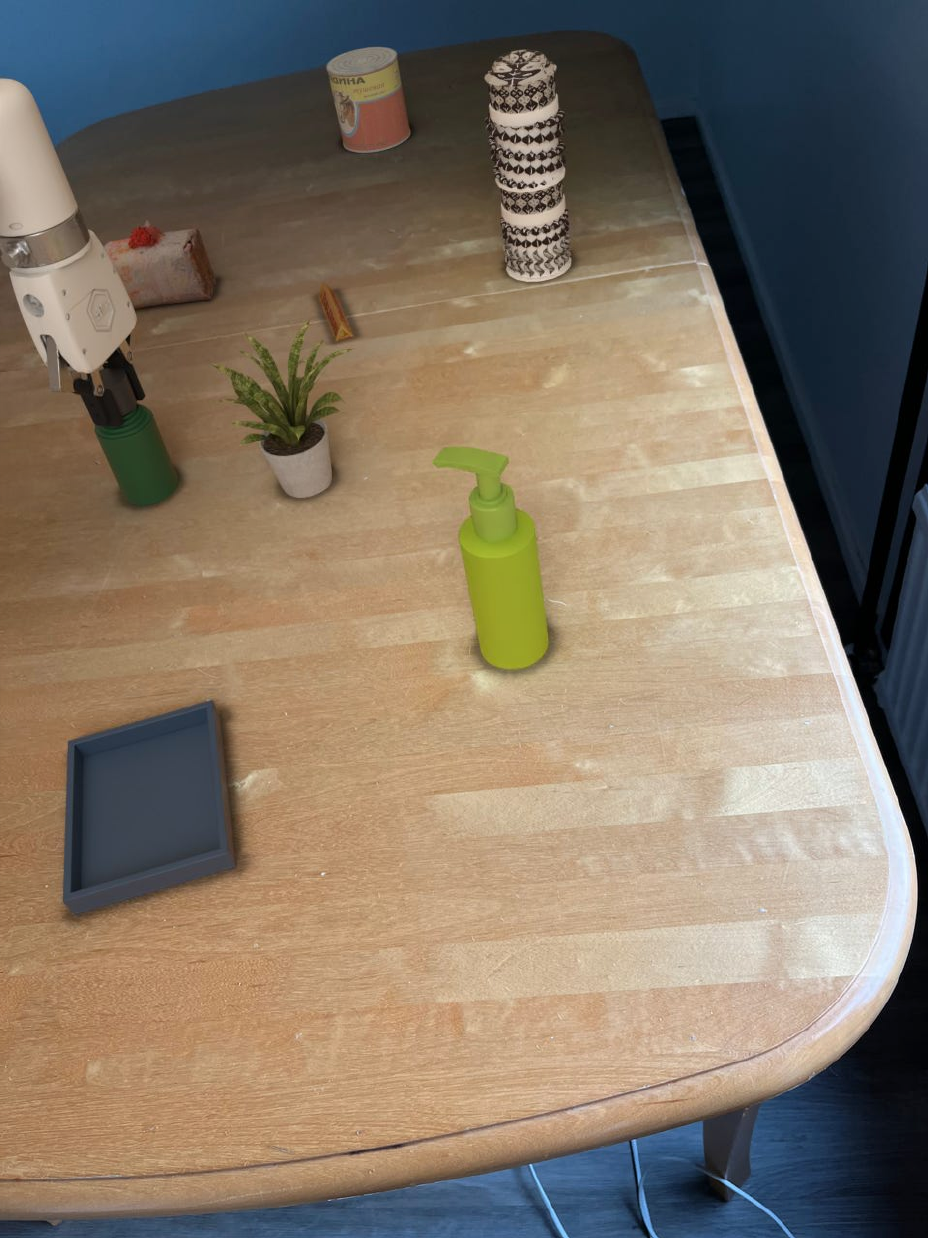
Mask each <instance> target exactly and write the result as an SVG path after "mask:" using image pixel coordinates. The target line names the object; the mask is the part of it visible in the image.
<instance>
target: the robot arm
mask: <svg viewBox="0 0 928 1238" xmlns="http://www.w3.org/2000/svg"><path fill="white" fill-rule="evenodd" d="M0 251H1V252H2V253H1V261H2V263H3V264H4V266H6V267H7V268H9V269H10V270H9V277H10V280H11V285H12V288H13V292H14V295H15V298H16V301H17V305H18V307H19V309H20V312H21V315H22V318H23V321H24V323H25V325H26V328H27V330H28V333H29V336H30V337H31V339H32V342H33V344H34V346H35V349H36V350H37V352H38V355H39V356H40V358H41V360H42V361H43V363H44V364H45V365H44V366H46V367H47V374H48V387H49V390H50V392H51V393H72V394H74V395H75V396H80V397H81V399H82V401H83V402H82V403H83V404H84V406H85V408H86V410H87V412H88V414H89V417H90V419H91V421H92V423H93V425H94V426H95V425H97V426H108V427H121V426H122V425H123V423H124V422H123V418H122V416H121V414H120V411H119V409H118V407H117V405H116V402H115V400H114V398H113V396H112V393H111V392H110V390H104V386H103V383H102V380H101V377H100V373H99V370H100V369H99V368H100V367H101V366H102V369H105V368H113V369H123V370H124V371H125V372H126V374H127V377H128V379H129V382H130V384H131V387H132V389H133V392H134V394H135V397H136V399H137V402H140V401H141V402H142V401H143V400H144V399H145V398H146V393H145V391H144V389H143V386H142V384H141V381H140V378H139V376H138V375H137V372H136V369H135V367H134V365H133V363H132V362H133V361H134V353H133V351H132V349H131V335H132V334H131V333H132V332H133V330H134V329H135V328H136V325H137V320H138V317H137V314H136V313H137V312H136V311H135V310H136V309H134V308H133V305H132V303H131V300H130V298H129V296H128V293H127V291H126V289H125V287H124V285H123V282H122V280H121V278H120V276H119V274H118V272H117V270H116V268H115V266H114V264H113V262H112V261H111V259H110V257H109V255H108V254H107V252H106V250H105V249H104V245H103V244H102V242H101V241H100V239H99V237H97V235H96V234H95V232H94V231H93V230H91V229H88V227H87V225H86V222H85V220H84V218H83V215H82V212H81V210H80V208H79V205H78V203H77V200H76V198H75V195H74V193H73V190H72V188H71V185H70V182H69V181H68V178H67V176H66V174H65V170H64V168H63V166H62V164H61V161H60V159H59V157H58V154H57V152H56V149H55V146H54V143H53V142H52V139H51V137H50V134H49V132H48V129H47V127H46V125H45V122H44V118H43V116H42V114H41V112H40V109H39V107H38V105H37V102H36V101H35V98H34V96H33V94H32V93H31V92H30V90H29V89H28V88H27V86H25V85H24V84H23V83H21V82H20V81H17V80H15V79H11V78H0ZM81 373H84V374H86V377H87V378H88V380H89V381H87V380H86V379H84V378H82V374H81Z"/></svg>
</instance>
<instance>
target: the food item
mask: <svg viewBox="0 0 928 1238" xmlns="http://www.w3.org/2000/svg"><path fill="white" fill-rule="evenodd" d="M130 233H131V235H129V237H128V238H122V239H118V240H111V241H109V242H107V243H105V245H103V247H104V249H105V250H106V252H107V254H108V255H109V257H110V259H111V261H112V262H113V264H114V266H115V268H116V270H117V272H118V274H119V276H120V278H121V280H122V282H123V285H124V287H125V289H126V291H127V293H128V296H129V298H130V300H131V303H132V305H133V308H134V310H139V309H144V308H148V307H155V306H161V305H162V306H165V305H171V304H172V305H173V304H184V303H190V302H198V301H206V300H211V299H212V296H213V295H214V291H215V288H216V284H217V280H216V276H215V272H214V270H213V268H212V265H211V261H210V259H209V255H208V253H207V251H206V247H205V244H204V241H203V238H202V235H201V231H200V230H199V229H198V228H188V229H181V230H175V231H174V230H173V231H163V232H162V231H161V229H160V228H157V226H155V227H154V226H153V225H151V224H150V221H149V220H148V219H146V221H145V222H144V225H143V226H142V227H141V226H138V225H137V227H136V228H134V229H133V230H132V231H130Z"/></svg>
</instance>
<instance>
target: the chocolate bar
mask: <svg viewBox="0 0 928 1238" xmlns="http://www.w3.org/2000/svg"><path fill="white" fill-rule="evenodd" d="M317 297H318V300H319V303H320V306H321V308H322V310H323V313H324V315H325V318H326V320H327V323H328V326H329V328H330V330H331V334H332V336H333V339H334V341H335V342H339V341H342V340H346V339H349V338H354V334H353V332H352V329H351V327H350V324H349V322H348V319H347V317H346V315H345V312H344V310H343V308H342V305H341V303H340V300H339V298H338V296H337V294H336V292H335V291H334V290H333V289H332V288H331V287H330V286H329V285H328V284H327V283H326V282H324V281H322V282H321V286H320V290H319V293H318V296H317Z"/></svg>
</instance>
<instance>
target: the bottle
mask: <svg viewBox="0 0 928 1238" xmlns="http://www.w3.org/2000/svg"><path fill="white" fill-rule="evenodd" d="M122 418H123V422H124V423H123V425H122V426H121V427H108V426H97V425H95V424H94V434H95V436H96V439H97V440H98V442H99V445H100V447H101V449H102V451H103V454H104V456H105V458H106V460H107V463H108V465H109V467H110V470H111V472H112V474H113V476H114V479H115V481H116V482H117V484H118V487H119V489H120V492H121V493H122V497H123V498H124V500H125V501H126V502H127V503H129V504H131V505H134V506H140V507H142V506H151V505H155V504H158V503H160V502H163V501H164V500H167V498H170V496H172V495H173V494H174V493H175V491H176V490H177V489H178V486H179V483H180V480H179V477H178V474H177V471H176V469H175V466H174V464H173V461H172V459H171V456H170V454H169V452H168V448H167V446H166V444H165V441H164V439H163V436H162V434H161V431H160V429H159V426H158V423H157V421H156V418H155V416H154V414H153V411H152V410H151V409H150V408H149V407H147V406H146V405H144V404H141V403H138V402H137V405H136V407H135V408H134V409H133V410H132V411H131V412H130V413H128V414H126V415H124V416H122Z"/></svg>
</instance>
